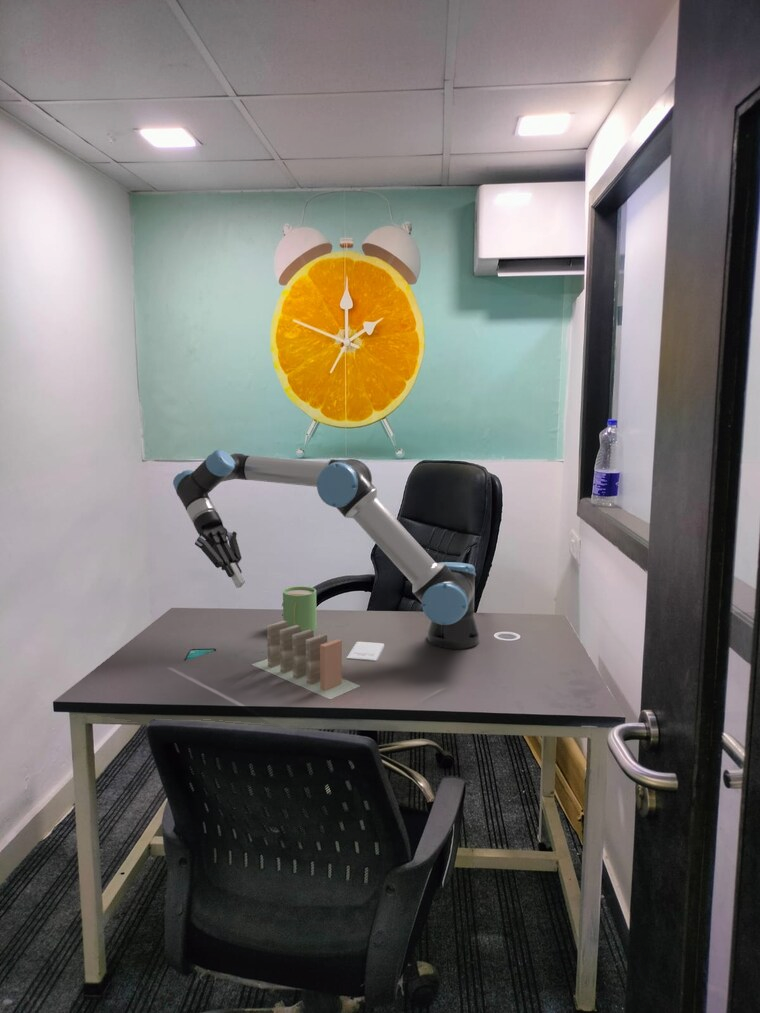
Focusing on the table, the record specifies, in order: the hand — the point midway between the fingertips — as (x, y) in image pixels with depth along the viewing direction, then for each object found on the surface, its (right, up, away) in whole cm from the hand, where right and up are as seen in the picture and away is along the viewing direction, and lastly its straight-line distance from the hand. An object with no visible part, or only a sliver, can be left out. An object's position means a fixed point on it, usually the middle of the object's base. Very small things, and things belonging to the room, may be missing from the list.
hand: (240, 584), depth 177 cm
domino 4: (+23, -21, -18) cm, 36 cm away
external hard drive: (+34, -20, +1) cm, 40 cm away
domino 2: (+15, -20, -11) cm, 28 cm away
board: (+19, -21, -14) cm, 32 cm away
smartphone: (-11, -20, -4) cm, 23 cm away
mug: (+13, -16, +20) cm, 29 cm away
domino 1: (+12, -20, -8) cm, 24 cm away
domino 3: (+19, -21, -14) cm, 32 cm away
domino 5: (+26, -22, -21) cm, 40 cm away
